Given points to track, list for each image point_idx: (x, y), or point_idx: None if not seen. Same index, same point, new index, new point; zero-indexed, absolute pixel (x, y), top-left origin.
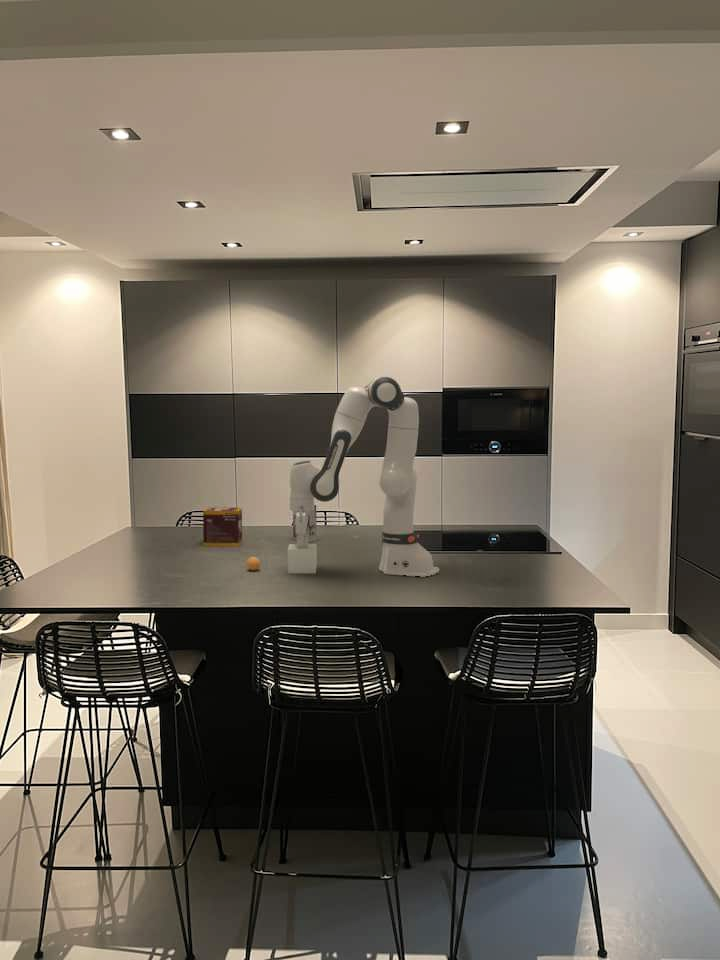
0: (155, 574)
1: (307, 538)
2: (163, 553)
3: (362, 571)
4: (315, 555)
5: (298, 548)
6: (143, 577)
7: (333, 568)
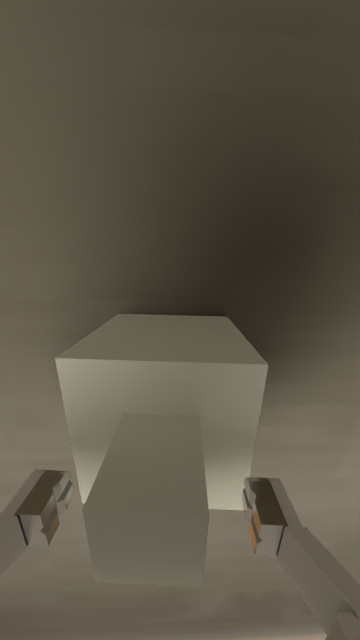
0: (200, 625)
1: (206, 496)
2: (6, 627)
3: (210, 72)
4: (251, 347)
5: (216, 463)
6: (223, 634)
7: (141, 240)
